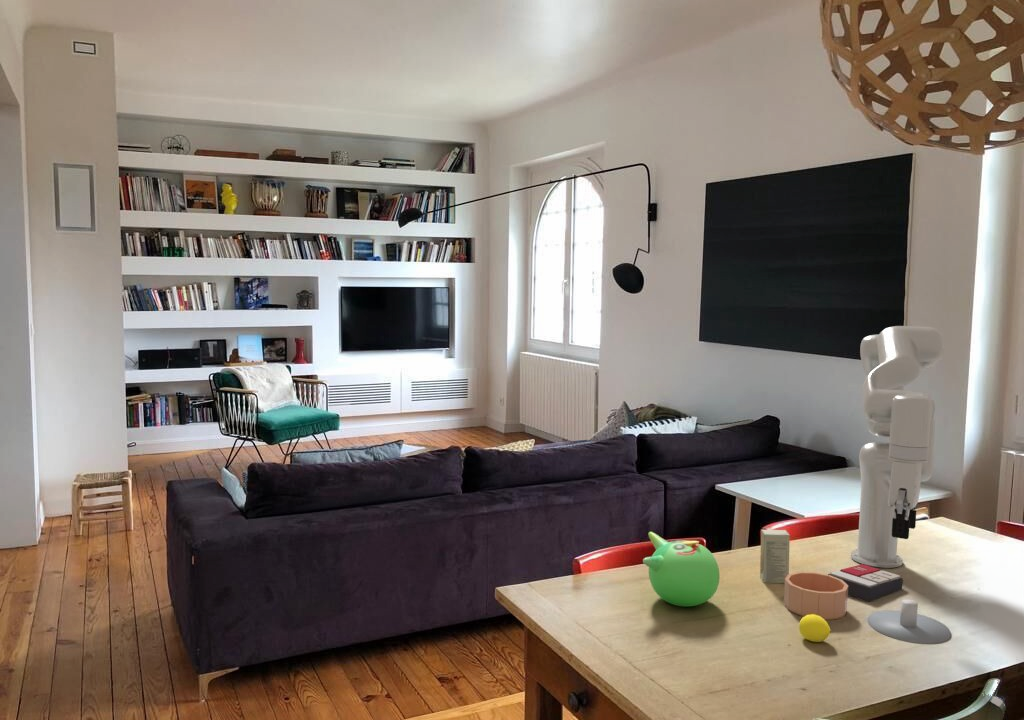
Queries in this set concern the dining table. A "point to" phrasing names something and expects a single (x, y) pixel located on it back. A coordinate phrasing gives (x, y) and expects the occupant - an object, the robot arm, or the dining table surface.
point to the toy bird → (682, 571)
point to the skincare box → (774, 556)
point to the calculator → (868, 582)
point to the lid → (908, 624)
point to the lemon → (814, 628)
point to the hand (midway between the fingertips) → (903, 532)
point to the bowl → (816, 595)
